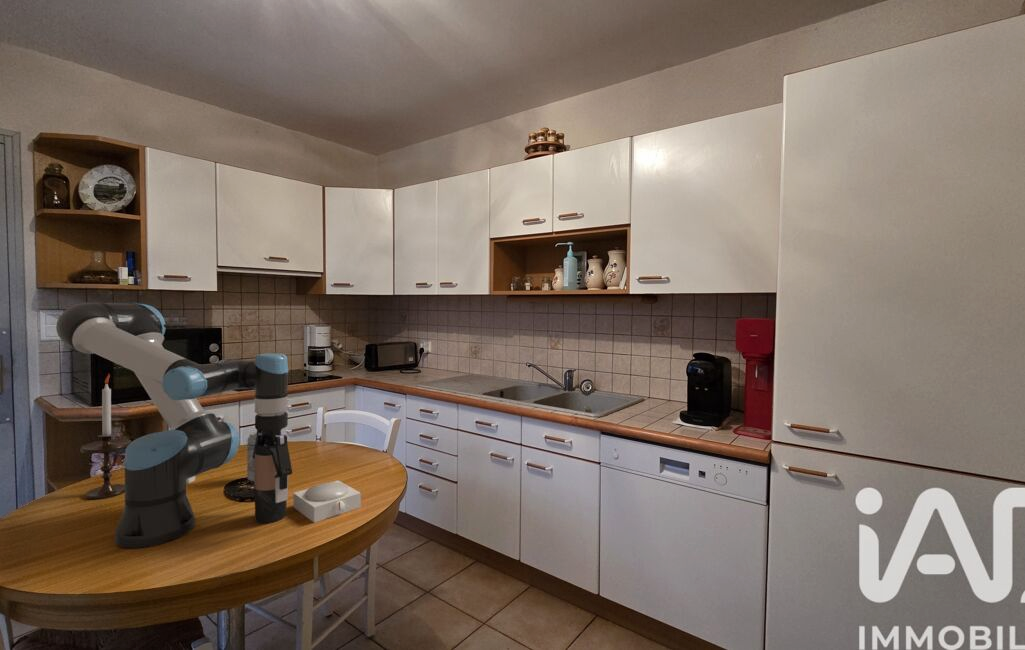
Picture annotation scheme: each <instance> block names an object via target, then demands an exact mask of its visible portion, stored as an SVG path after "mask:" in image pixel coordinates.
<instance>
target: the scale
mask: <svg viewBox="0 0 1025 650" xmlns="http://www.w3.org/2000/svg"><path fill="white" fill-rule="evenodd" d="M292 494H293V495H292V496H293V497H292V498H293V499H292V501H293V502H292V503H293V504H292V505H293V506H292V508H294V509H295V510H296V511H298V513H300V514H302V515H303V516H305V517H306V518H307V519H308V520H310V521H311V522H313V523H314V524H315V523H318V522H321V521H323V520H327V519H329V518H332V517H336V516H339V515H342V514H344V513H347V512H350V511H353V510H356V509H360V508H362V493H361V492H360V491H359V490H356V489H354V488H353V487H351V486H349V485H347V484H345V483H344V482H342V481H340V480H335V481H330V482H324V483H319V484H315V485H313V486H311V487H309V488H305V489H302V490H299V491H295V492H293V493H292Z"/></svg>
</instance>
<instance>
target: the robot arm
mask: <svg viewBox="0 0 1025 650" xmlns="http://www.w3.org/2000/svg"><path fill="white" fill-rule="evenodd" d="M164 325H166V321H165V319H164V317H163V315H162V313H161V312H160V311H159V310H158V309H157V308H155V307H154V306H151V305H149V304H145V303H138V302H127V303H119V302H118V303H116V302H115V303H114V302H83V303H79V304H75V305H73V306H70V307H69V308H67V309H66V310H65V311H63V312H62V313H61V315H60V316H59V317H58V319H57V322H56V326H55V327H56V333H57V336H58V337H59V338H60V340H61V341H62V342H63V343H64V344H65V345H66V346H68V347H70V348H71V349H73V350H75V351H77V352H79V353H82V354H85V355H86V354H88V355H92V354H95V355H97V356H100V357H102V358H104V359H106V360H109V361H110V362H112V363H114V364H117V365H119V366H121V367H123V368H126V369H127V370H129V371H132V372H134V374H135V376H136V377H137V379H138V381H139V382H140V385H142V387H143V388H144V390H145V391H146V393H147V394H148V397H149V399H151V401H152V402H153V404H154V406H155V407H156V409H157V410H158V413H160V416H161V417H162V418H163V420H164V422H165V423H166V424H167V426H168V429H167V430H161V431H160V432H151V433H149V434H146V435H142V436H140V437H138V438H135V439H134V440H133V441H132V440H131V443H130V444H129V445H128V446H127V448H125V452H124V460H123V467H124V485H125V492H124V508H123V510H122V513H121V516H120V518H119V521H118V523H117V525H116V527H115V528H116V529H115V530H114V531H115V532H114V544H115V545H116V546H118V547H120V548H127V549H138V548H139V549H140V548H146V547H151V546H156V545H160V544H164V543H167V542H170V541H172V540H175V539H178V538H180V537H182V536H184V535H185V534H187V533H188V532H190V531H191V530H192V529H193V528H194V527H195V524H196V520H195V519H196V518H195V517H196V515H195V513H194V512H195V511H194V510H193V508H192V505H191V503H190V501H189V498H188V496H187V483H186V479H188V478H191V477H193V476H195V477H196V476H197V475H201V474H205V472H208V471H209V472H210V470H213V469H218V468H220V467H221V466H222V465H225V464H227V463H228V462H230V461H232V460H233V459H234V457H235V456H236V455H237V452H238V450H239V445H240V436H239V432H238V429H237V428H236V426H234V424H232V423H230V422H227V421H219V419H218V418H217V416H216V414H215V412H211V411H205V410H204V408H203V407H202V405H201V403H200V402H199V401H198V398H200V397H206V396H211V395H214V394H215V395H216V394H219V393H223V392H224V393H225V392H229V391H234V390H252V391H254V413H255V414H256V415H255V416H254V427H255V429H256V432H257V436H256V441H255V444H257V443H258V441H260V444H261V445H263V444H266V445H267V446H274V445H275V446H276V448H271V447H269V452H270V453H272V457H273V461H274V465H275V469H276V472H277V475H275V478H276V489H275V502H276V503H278V502H282V501H285V500H287V501H288V500H289V476H290V475H292V474H293V467H292V461H291V456H290V452H289V446H288V436H287V434H284V435H283V434H282V429H285V428H286V427H288V424H289V423H288V421H289V418H288V416H289V413H288V408H289V407H288V404H289V403H288V402H289V401H290V398H288V397H289V396H288V387H289V386H288V383H289V382H288V381H289V372H290V371H289V365H288V356H287V355H286V354H284V353H277V352H276V353H273V352H271V353H270V352H269V353H260V354H257V355H256V356H255V359H254V360H244V359H236V358H231V359H222V360H218V361H217V362H213V363H206V364H200V363H197V362H195V361H192V360H190V359H187V358H185V357H184V356H181V355H179V354H177V353H175V352H172V351H170V350H168V349H166V348H164V346H163V342H164V340H165V336H164V335H165V333H166V327H165V326H164ZM252 457H253V459H255V446H254V451H253V456H252ZM284 470H285V471H284Z"/></svg>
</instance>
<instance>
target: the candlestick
mask: <svg viewBox="0 0 1025 650" xmlns="http://www.w3.org/2000/svg"><path fill="white" fill-rule="evenodd" d="M110 377H111V375H110V374H108V375H107V376H106V378H105V380H104V384H105V385H104V388H102V389H101V394H102V396H101V402H102V403H101V412H102V414H101V419H102V421H101V423H102V424H101V426H102V431H101V432H102V434H99V435H97V437H98V438H101V440H98V441H94V442H89V443H85V444H84V445H81V446H80V453H83V454H102V455H103V465H101V466H100V468H99V470H100V471H101V472H102V475H101V476H100V478H101V479H103V484H102V485H101V486H98V487H95V488H92V489H90V490H88V491H87V492H85V494H84V495H85V499H86V500H92V501H93V500H105V499H109V498H114V497H117V496H120V495H123V494H125V483H115V484H114V483H113V484H112V483H111V477H113V474H112V473H111V471H112V470H113V469H114V466H113V464H111V453H113V452H115V451H121V450H124V449H126V448H127V446H128V445H129V444H130V443H131V442H132V439H128V438H112V436H115V435H116V434H117V433H113V432H112V388H110V387H109V380H110Z"/></svg>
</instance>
